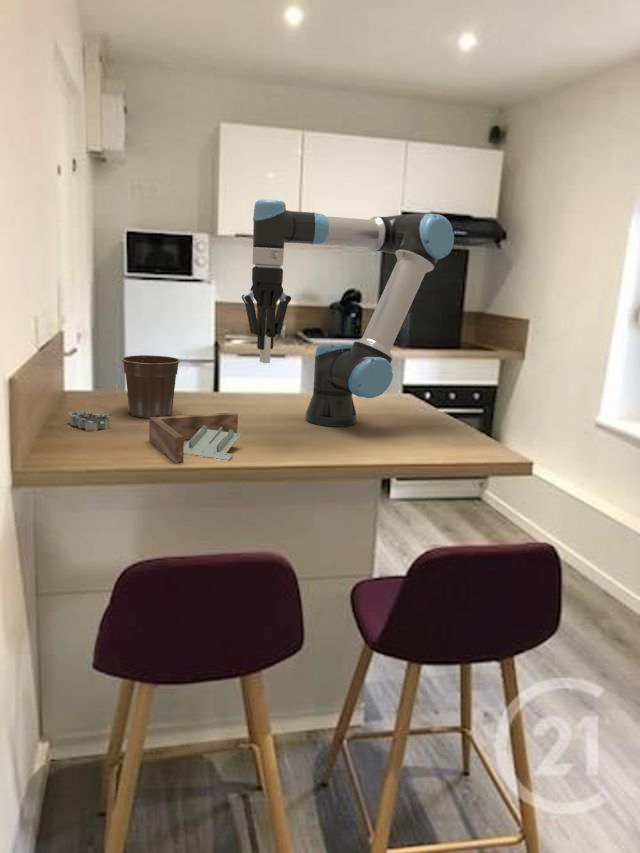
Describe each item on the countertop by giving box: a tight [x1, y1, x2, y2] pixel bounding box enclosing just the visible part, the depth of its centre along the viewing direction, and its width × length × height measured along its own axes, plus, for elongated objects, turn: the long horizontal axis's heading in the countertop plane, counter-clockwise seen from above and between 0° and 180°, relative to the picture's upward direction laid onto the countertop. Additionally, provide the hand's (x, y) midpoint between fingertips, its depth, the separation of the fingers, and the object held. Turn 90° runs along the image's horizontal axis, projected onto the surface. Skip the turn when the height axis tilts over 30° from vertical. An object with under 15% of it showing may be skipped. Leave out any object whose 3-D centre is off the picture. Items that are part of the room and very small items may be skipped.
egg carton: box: [68, 410, 112, 432], centre depth 182 cm, size 11×8×4 cm
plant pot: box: [121, 354, 181, 419], centre depth 198 cm, size 16×16×16 cm
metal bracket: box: [184, 426, 242, 461], centre depth 168 cm, size 14×6×15 cm
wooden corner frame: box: [148, 412, 239, 464], centre depth 169 cm, size 23×20×6 cm
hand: (264, 362), depth 174 cm, fingers closed
